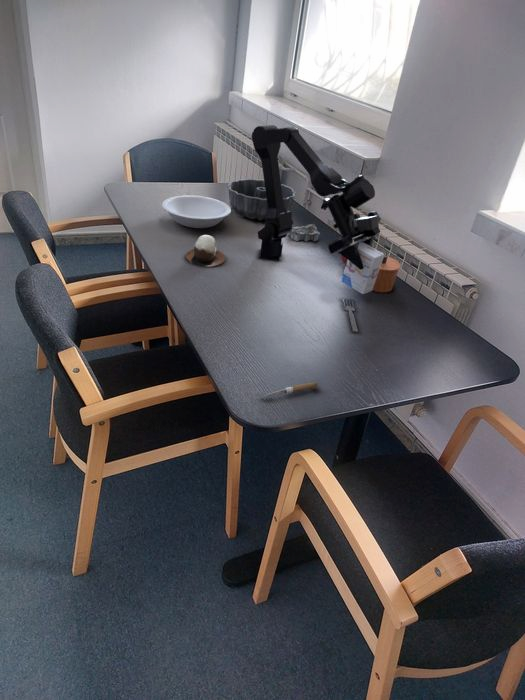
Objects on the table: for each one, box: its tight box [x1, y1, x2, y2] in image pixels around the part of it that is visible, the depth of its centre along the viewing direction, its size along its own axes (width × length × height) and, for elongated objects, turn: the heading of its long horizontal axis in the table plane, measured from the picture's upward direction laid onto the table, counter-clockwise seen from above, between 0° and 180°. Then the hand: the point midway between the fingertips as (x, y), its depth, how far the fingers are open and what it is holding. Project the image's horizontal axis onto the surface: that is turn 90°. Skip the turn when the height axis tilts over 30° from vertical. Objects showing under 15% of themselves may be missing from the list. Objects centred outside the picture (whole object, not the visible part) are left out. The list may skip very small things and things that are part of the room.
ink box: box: [341, 242, 385, 295], centre depth 137 cm, size 8×5×12 cm, turn 44°
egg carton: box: [287, 223, 321, 242], centre depth 174 cm, size 11×8×4 cm
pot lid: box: [379, 254, 402, 271], centre depth 145 cm, size 11×11×3 cm
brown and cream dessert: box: [185, 234, 226, 267], centre depth 150 cm, size 12×10×10 cm
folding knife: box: [260, 381, 319, 399], centre depth 100 cm, size 14×2×2 cm, turn 115°
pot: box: [371, 270, 399, 293], centre depth 148 cm, size 10×10×7 cm
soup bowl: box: [161, 194, 232, 229], centre depth 172 cm, size 24×24×7 cm
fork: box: [342, 299, 359, 334], centre depth 132 cm, size 17×3×1 cm, turn 178°
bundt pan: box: [226, 178, 297, 222], centre depth 188 cm, size 26×26×10 cm
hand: (367, 266), depth 136 cm, fingers closed on ink box, 5 cm apart
